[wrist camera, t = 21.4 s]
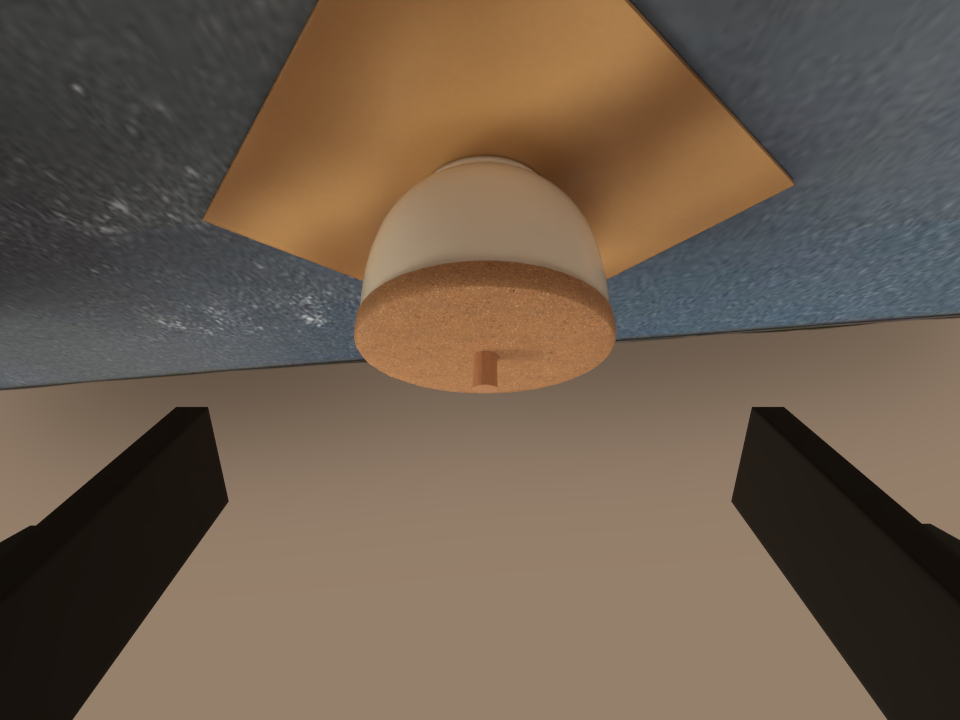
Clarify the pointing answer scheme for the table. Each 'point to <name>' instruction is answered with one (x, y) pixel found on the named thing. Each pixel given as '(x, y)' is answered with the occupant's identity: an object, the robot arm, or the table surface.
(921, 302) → the table surface
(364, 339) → the trinket box
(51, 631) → the robot arm
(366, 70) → the cork mat
